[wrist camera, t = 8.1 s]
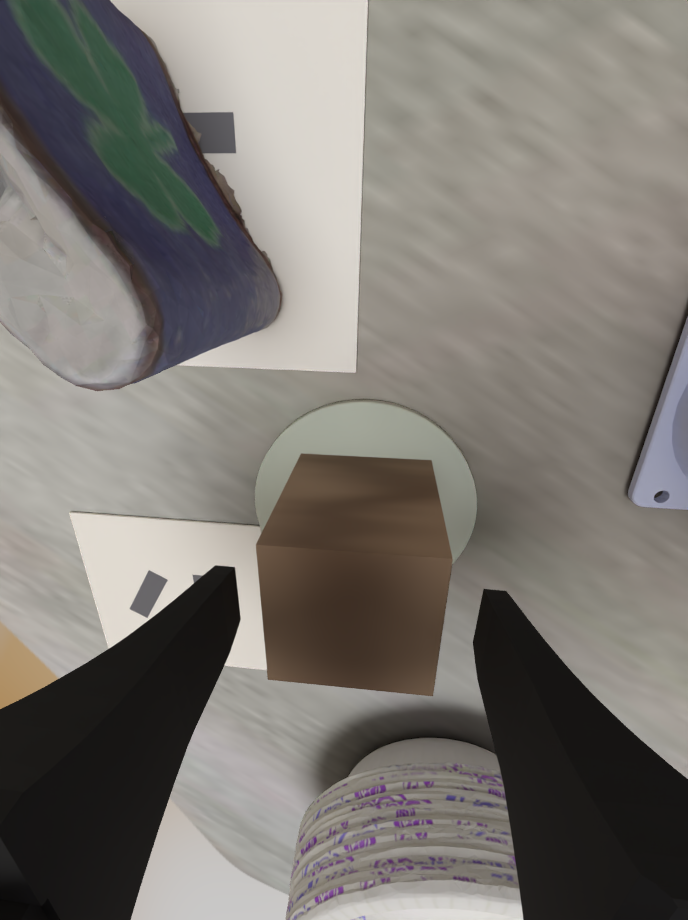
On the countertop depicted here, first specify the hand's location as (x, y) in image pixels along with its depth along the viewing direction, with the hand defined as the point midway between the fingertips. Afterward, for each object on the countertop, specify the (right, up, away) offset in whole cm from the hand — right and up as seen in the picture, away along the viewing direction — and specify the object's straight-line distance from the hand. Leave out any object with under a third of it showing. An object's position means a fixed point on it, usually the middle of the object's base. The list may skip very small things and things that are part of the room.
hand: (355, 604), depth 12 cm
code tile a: (-5, +13, +1) cm, 14 cm away
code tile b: (-9, -3, +9) cm, 12 cm away
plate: (+1, +2, +5) cm, 6 cm away
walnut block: (0, +2, +5) cm, 5 cm away
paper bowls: (+5, -15, +13) cm, 21 cm away
